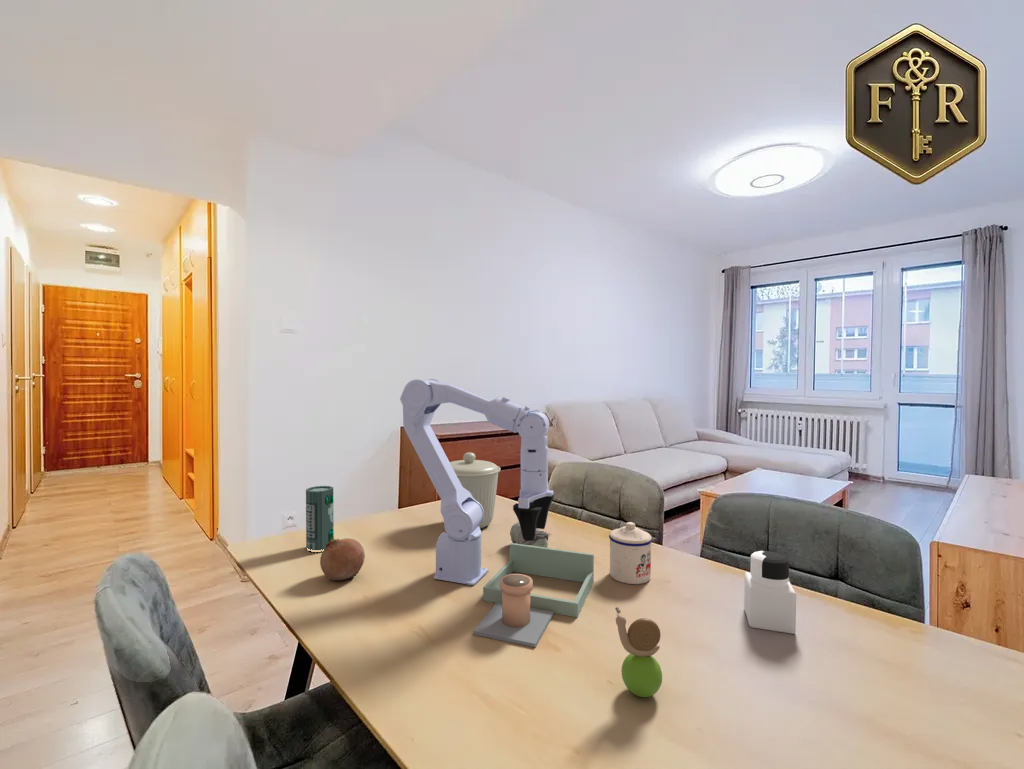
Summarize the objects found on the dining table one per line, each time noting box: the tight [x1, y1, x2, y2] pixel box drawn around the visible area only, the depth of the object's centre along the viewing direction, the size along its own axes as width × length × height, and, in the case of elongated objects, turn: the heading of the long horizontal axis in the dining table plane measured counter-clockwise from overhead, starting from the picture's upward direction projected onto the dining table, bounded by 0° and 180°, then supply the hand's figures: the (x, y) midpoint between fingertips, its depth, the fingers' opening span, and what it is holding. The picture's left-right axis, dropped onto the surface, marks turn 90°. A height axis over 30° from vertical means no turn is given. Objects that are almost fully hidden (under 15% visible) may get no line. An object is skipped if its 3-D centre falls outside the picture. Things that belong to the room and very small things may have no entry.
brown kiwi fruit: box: [319, 537, 366, 582], centre depth 103 cm, size 9×9×10 cm
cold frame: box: [482, 542, 595, 619], centre depth 97 cm, size 19×16×6 cm
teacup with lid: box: [608, 521, 653, 585], centre depth 105 cm, size 12×9×12 cm
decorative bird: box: [509, 521, 552, 548], centre depth 116 cm, size 6×17×8 cm, turn 26°
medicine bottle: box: [743, 550, 797, 635], centre depth 85 cm, size 7×7×12 cm
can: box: [305, 485, 335, 550], centre depth 120 cm, size 6×6×15 cm
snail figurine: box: [615, 606, 663, 698], centre depth 66 cm, size 5×6×12 cm
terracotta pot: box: [499, 573, 534, 628], centre depth 84 cm, size 6×6×7 cm
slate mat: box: [472, 602, 555, 648], centre depth 84 cm, size 11×11×1 cm
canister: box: [449, 451, 501, 530], centre depth 138 cm, size 18×18×21 cm
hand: (534, 533), depth 100 cm, fingers open, 7 cm apart
